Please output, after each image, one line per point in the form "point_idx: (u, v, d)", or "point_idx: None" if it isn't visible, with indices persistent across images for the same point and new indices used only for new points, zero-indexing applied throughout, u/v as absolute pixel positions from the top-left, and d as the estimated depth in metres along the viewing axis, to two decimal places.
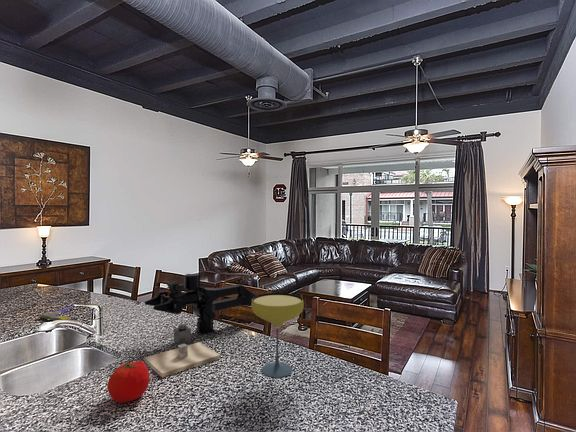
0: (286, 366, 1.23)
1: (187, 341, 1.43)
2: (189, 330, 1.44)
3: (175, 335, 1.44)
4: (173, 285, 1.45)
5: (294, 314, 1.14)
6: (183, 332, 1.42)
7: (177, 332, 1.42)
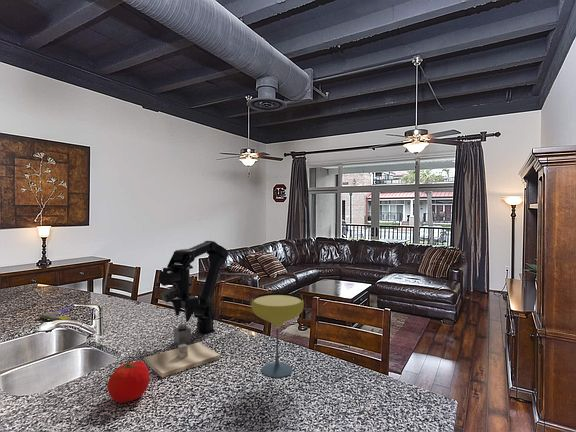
0: (286, 366, 1.23)
1: (187, 341, 1.43)
2: (189, 330, 1.44)
3: (175, 335, 1.44)
4: (167, 300, 1.37)
5: (294, 314, 1.14)
6: (183, 332, 1.42)
7: (177, 332, 1.42)
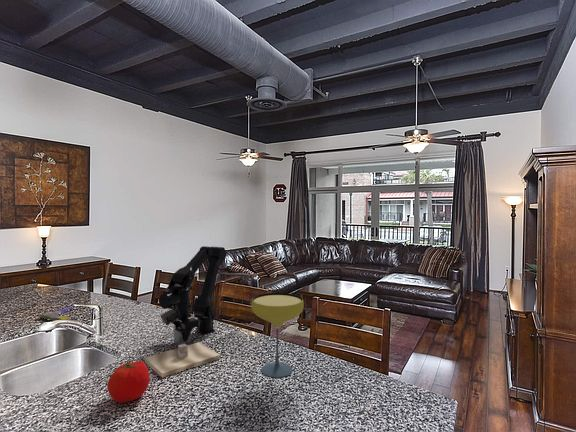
0: (286, 366, 1.23)
1: (187, 341, 1.43)
2: None
3: (175, 335, 1.43)
4: (167, 322, 1.38)
5: (294, 314, 1.14)
6: None
7: (177, 332, 1.42)
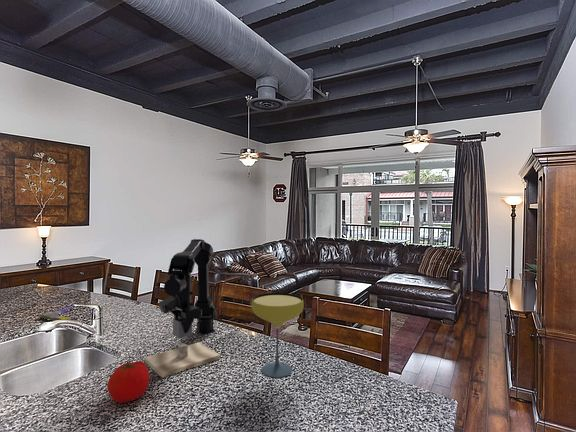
0: (286, 366, 1.23)
1: (188, 332, 1.27)
2: None
3: (174, 326, 1.27)
4: (166, 311, 1.22)
5: (294, 314, 1.14)
6: None
7: (177, 322, 1.26)
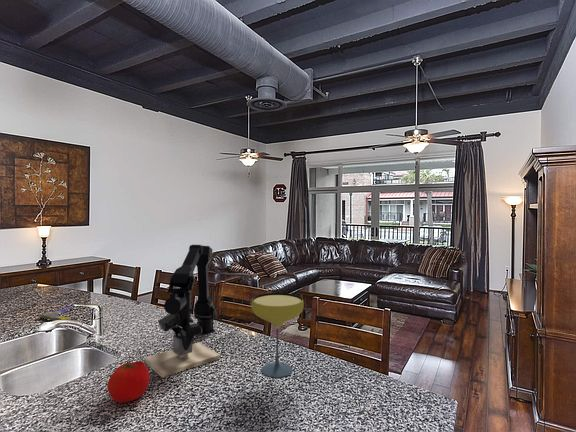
0: (286, 366, 1.23)
1: (188, 350, 1.28)
2: None
3: (174, 343, 1.28)
4: (166, 329, 1.22)
5: (294, 314, 1.14)
6: None
7: (177, 340, 1.26)
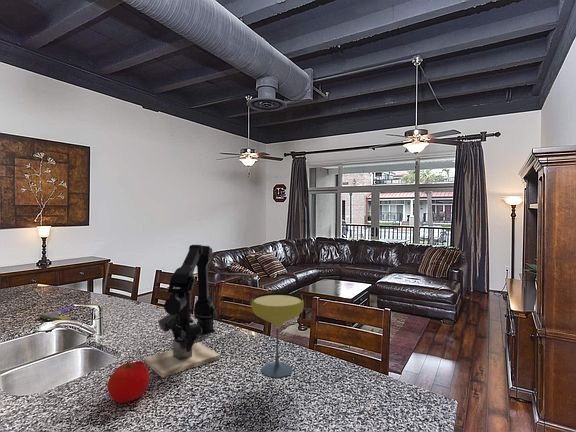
0: (286, 366, 1.23)
1: (188, 354, 1.28)
2: None
3: (174, 347, 1.28)
4: (166, 329, 1.22)
5: (294, 314, 1.14)
6: (183, 344, 1.26)
7: (177, 344, 1.26)
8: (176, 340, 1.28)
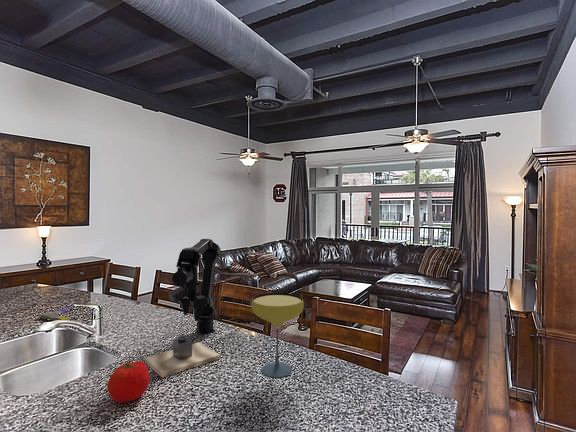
0: (286, 366, 1.23)
1: (188, 354, 1.28)
2: (190, 341, 1.28)
3: (174, 347, 1.28)
4: (176, 300, 1.34)
5: (294, 314, 1.14)
6: (183, 344, 1.26)
7: (177, 344, 1.26)
8: (176, 340, 1.28)
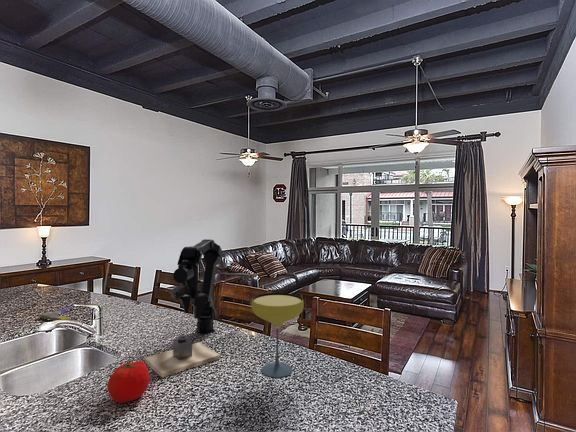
0: (286, 366, 1.23)
1: (188, 354, 1.28)
2: (190, 341, 1.28)
3: (174, 347, 1.28)
4: (176, 297, 1.36)
5: (294, 314, 1.14)
6: (183, 344, 1.26)
7: (177, 344, 1.26)
8: (176, 340, 1.28)
